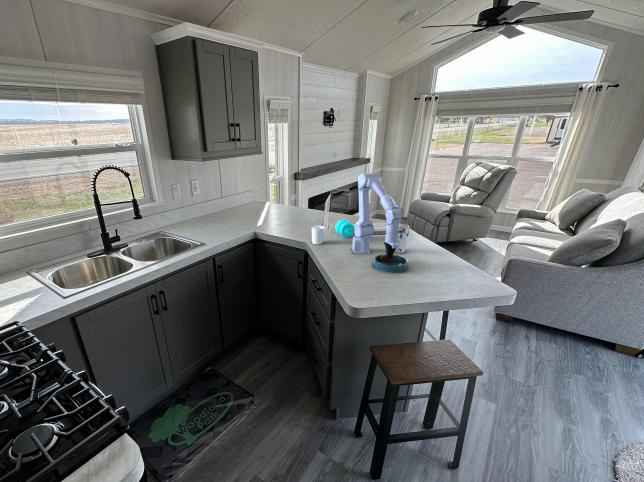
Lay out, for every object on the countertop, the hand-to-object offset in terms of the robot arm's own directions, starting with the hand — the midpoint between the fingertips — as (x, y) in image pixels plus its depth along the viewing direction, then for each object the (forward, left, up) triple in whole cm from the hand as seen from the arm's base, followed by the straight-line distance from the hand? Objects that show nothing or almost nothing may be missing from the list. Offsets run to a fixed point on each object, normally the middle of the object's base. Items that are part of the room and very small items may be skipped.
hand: (389, 256), depth 170 cm
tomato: (0, +2, -4) cm, 4 cm away
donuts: (-17, +47, +1) cm, 50 cm away
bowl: (0, -3, -4) cm, 5 cm away
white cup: (-35, +34, -4) cm, 49 cm away
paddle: (0, 0, -2) cm, 2 cm away
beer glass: (+11, +19, -4) cm, 22 cm away
